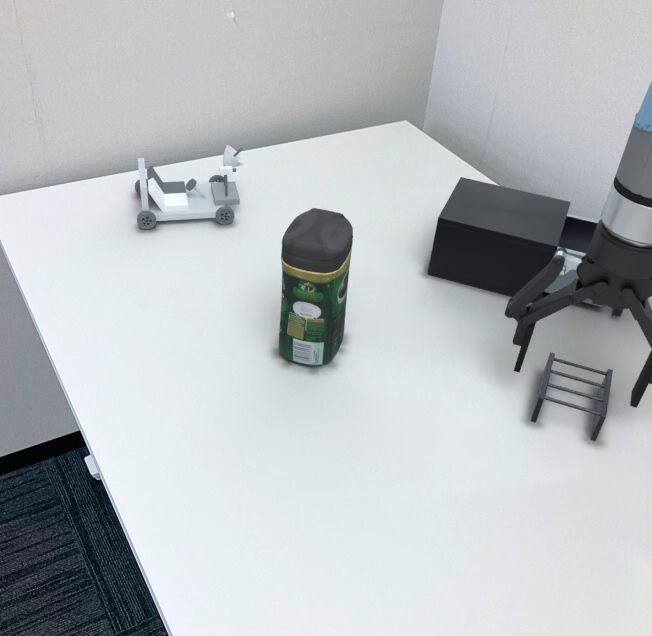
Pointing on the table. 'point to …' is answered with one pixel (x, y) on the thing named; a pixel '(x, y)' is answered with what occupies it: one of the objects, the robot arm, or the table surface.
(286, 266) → the coffee jar
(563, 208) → the box
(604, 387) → the rack
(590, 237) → the grey drawer
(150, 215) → the toy car
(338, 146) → the table surface
